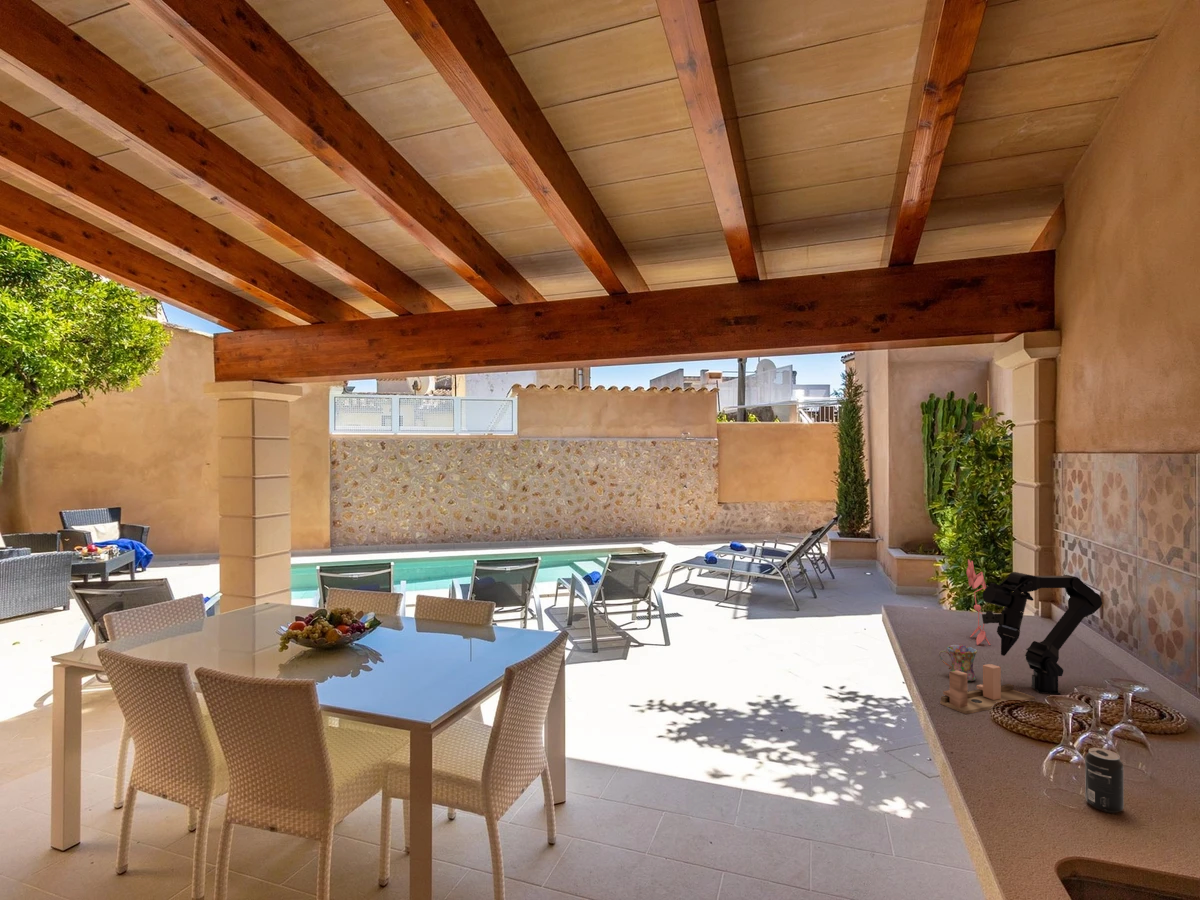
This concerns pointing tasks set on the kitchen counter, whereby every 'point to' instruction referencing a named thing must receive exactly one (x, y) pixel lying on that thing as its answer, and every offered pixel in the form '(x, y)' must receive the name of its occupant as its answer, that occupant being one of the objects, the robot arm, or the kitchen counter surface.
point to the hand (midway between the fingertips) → (1002, 655)
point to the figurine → (978, 582)
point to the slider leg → (991, 682)
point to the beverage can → (1104, 780)
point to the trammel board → (975, 695)
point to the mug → (962, 659)
